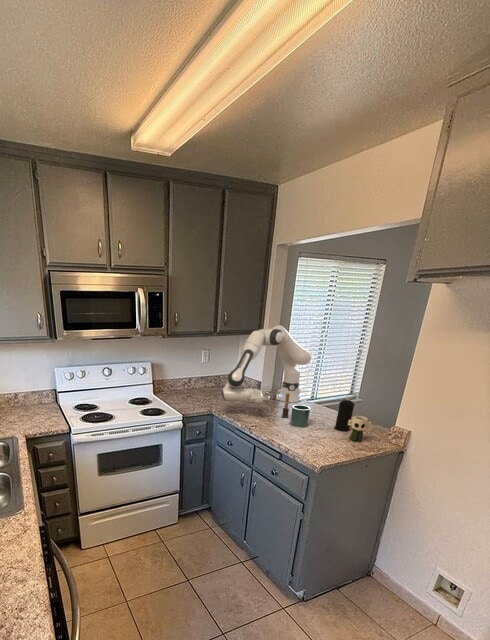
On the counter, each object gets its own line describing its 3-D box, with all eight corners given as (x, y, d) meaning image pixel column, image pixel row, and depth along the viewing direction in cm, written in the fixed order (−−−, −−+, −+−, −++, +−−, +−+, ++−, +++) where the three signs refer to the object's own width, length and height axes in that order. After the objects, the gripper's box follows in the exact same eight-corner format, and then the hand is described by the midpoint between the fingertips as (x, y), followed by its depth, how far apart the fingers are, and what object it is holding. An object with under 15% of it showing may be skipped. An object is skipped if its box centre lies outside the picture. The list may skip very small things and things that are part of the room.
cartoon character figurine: (345, 440, 197) (350, 418, 192) (344, 436, 203) (348, 414, 198) (367, 443, 193) (372, 420, 188) (365, 438, 199) (370, 416, 194)
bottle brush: (281, 416, 236) (284, 392, 230) (287, 416, 235) (290, 392, 230) (282, 417, 232) (285, 394, 227) (288, 418, 232) (291, 394, 226)
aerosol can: (352, 430, 211) (359, 398, 204) (341, 432, 209) (347, 399, 202) (342, 426, 219) (348, 394, 211) (331, 427, 216) (337, 395, 209)
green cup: (288, 421, 227) (291, 404, 223) (305, 421, 225) (307, 405, 221) (291, 426, 217) (294, 409, 213) (309, 427, 216) (312, 410, 212)
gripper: (248, 394, 221) (271, 395, 220) (246, 386, 240) (267, 387, 238) (248, 404, 224) (270, 405, 222) (245, 395, 242) (266, 396, 241)
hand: (268, 396), depth 230 cm, fingers open, 8 cm apart
